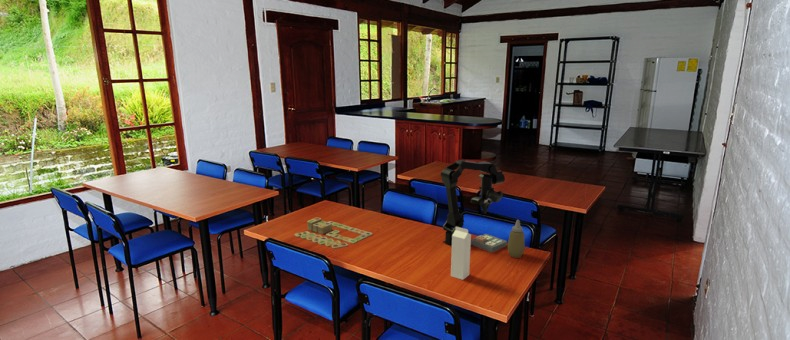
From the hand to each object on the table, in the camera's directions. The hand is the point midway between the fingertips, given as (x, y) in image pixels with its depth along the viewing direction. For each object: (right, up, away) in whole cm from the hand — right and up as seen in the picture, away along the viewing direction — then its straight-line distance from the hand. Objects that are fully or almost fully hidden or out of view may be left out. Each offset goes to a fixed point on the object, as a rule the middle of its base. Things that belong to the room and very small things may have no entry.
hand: (485, 213), depth 227 cm
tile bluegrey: (+3, -14, -12) cm, 19 cm away
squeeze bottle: (+10, -18, -23) cm, 31 cm away
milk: (-20, -23, -43) cm, 52 cm away
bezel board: (-1, -15, -11) cm, 19 cm away
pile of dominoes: (-82, -13, +2) cm, 83 cm away
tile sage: (-1, -13, -8) cm, 15 cm away
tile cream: (-1, -15, -15) cm, 22 cm away
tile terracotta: (-4, -13, -11) cm, 18 cm away
